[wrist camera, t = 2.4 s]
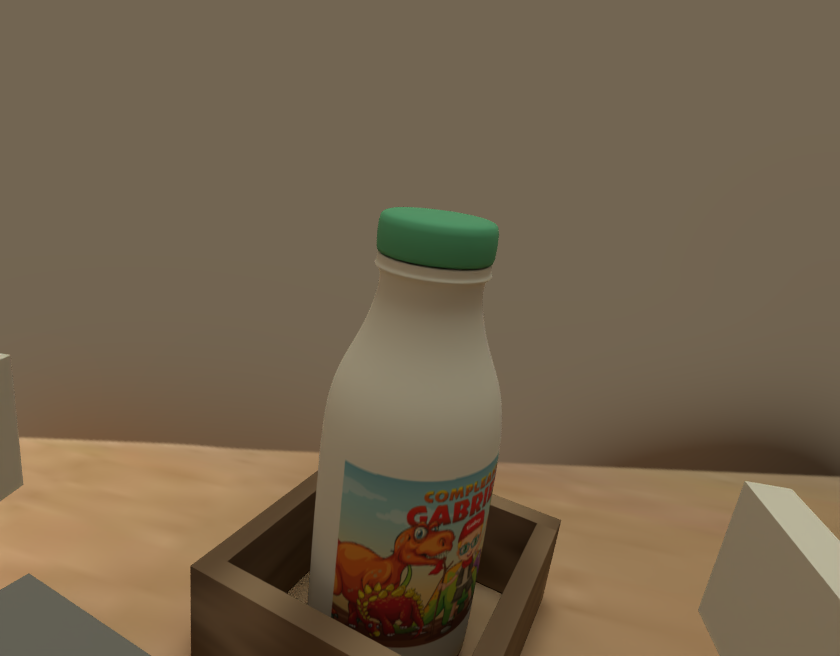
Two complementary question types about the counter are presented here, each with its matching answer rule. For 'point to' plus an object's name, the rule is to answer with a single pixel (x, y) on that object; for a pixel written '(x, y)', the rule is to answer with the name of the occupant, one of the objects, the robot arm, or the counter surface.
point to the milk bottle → (411, 441)
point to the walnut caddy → (324, 636)
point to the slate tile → (53, 625)
